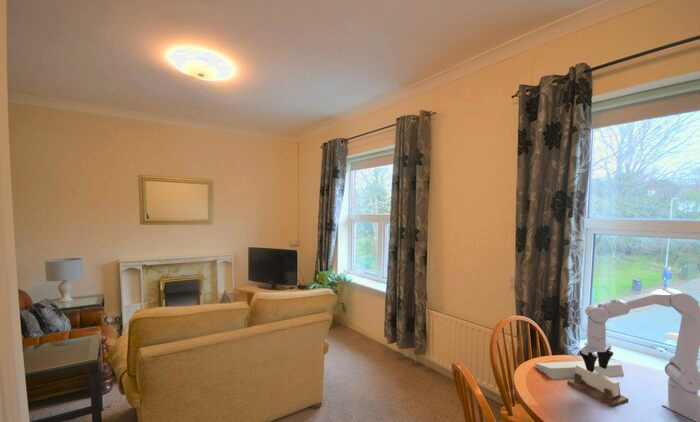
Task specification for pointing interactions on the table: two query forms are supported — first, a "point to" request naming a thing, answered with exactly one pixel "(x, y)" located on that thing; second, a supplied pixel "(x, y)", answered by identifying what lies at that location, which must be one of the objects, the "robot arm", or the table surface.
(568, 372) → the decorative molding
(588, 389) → the walnut rack
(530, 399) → the table surface
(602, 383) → the cream rectangular block
